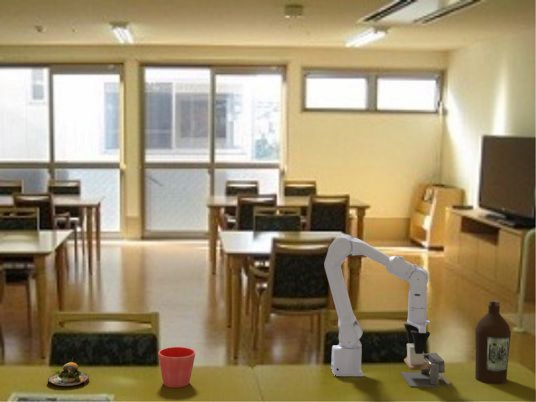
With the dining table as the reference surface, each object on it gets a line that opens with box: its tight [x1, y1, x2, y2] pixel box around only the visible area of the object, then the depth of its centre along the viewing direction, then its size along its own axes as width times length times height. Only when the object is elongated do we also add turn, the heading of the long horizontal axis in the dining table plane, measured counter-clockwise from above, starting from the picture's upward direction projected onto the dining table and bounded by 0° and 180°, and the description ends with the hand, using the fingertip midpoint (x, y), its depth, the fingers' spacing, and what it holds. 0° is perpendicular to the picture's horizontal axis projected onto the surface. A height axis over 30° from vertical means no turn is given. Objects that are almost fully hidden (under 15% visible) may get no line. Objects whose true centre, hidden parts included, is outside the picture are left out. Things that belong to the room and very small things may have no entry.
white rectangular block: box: [406, 343, 425, 365], centre depth 216 cm, size 4×4×6 cm
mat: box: [400, 371, 440, 388], centre depth 217 cm, size 9×13×1 cm
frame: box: [420, 353, 451, 388], centre depth 217 cm, size 6×12×7 cm, turn 2°
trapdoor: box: [403, 352, 446, 374], centre depth 217 cm, size 10×9×4 cm
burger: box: [47, 357, 90, 387], centre depth 208 cm, size 12×12×8 cm
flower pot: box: [158, 346, 196, 388], centre depth 209 cm, size 11×11×10 cm
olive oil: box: [474, 299, 512, 385], centre depth 219 cm, size 11×11×25 cm
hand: (415, 350), depth 216 cm, fingers open, 7 cm apart
